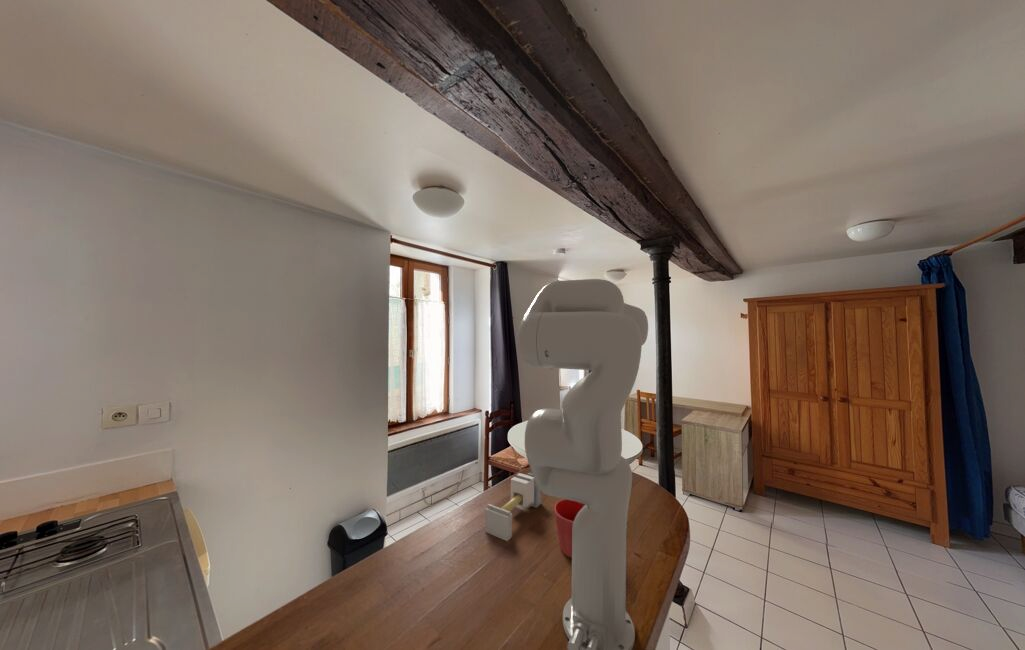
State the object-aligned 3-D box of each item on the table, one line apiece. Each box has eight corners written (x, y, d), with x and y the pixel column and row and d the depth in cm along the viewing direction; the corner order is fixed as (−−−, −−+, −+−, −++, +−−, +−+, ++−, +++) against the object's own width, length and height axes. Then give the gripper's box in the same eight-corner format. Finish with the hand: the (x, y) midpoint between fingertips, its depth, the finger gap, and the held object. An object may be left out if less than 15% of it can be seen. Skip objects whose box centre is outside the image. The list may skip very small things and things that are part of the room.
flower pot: (547, 554, 76) (547, 513, 76) (562, 530, 86) (562, 493, 86) (591, 570, 71) (591, 526, 71) (601, 542, 81) (602, 504, 81)
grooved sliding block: (525, 510, 91) (526, 483, 91) (510, 505, 93) (510, 478, 94) (533, 503, 95) (534, 476, 95) (518, 497, 98) (519, 472, 98)
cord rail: (507, 541, 81) (508, 505, 81) (485, 531, 84) (486, 497, 85) (543, 504, 98) (544, 475, 99) (524, 498, 102) (524, 469, 102)
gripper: (619, 366, 77) (619, 443, 76) (632, 362, 89) (631, 428, 89) (589, 364, 81) (588, 437, 80) (605, 361, 93) (604, 423, 93)
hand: (611, 432), depth 85 cm, fingers closed
